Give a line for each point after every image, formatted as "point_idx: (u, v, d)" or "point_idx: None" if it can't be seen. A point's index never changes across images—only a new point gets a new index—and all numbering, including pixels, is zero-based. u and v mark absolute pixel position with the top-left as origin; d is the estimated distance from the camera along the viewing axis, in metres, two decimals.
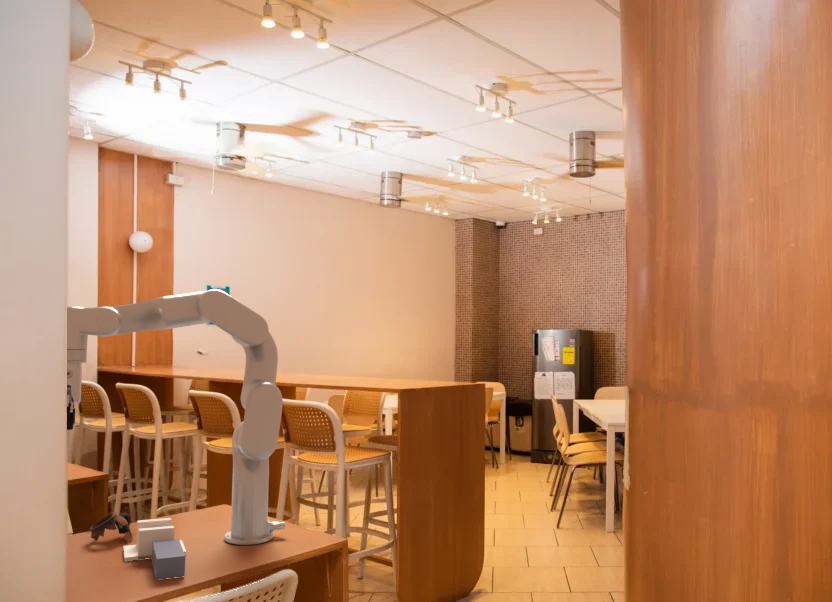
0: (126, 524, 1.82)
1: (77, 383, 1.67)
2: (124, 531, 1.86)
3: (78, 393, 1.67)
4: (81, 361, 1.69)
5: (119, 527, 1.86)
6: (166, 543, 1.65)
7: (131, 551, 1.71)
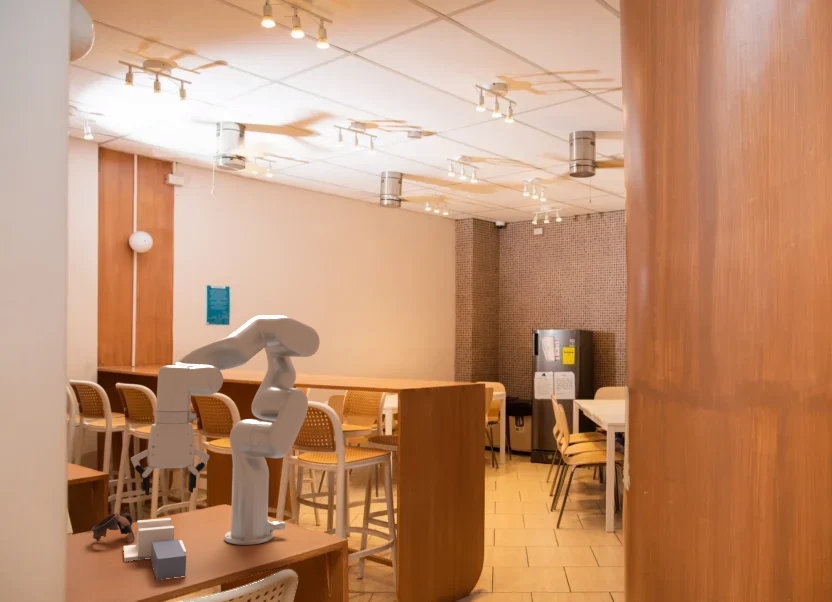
0: (128, 524, 1.82)
1: None
2: (126, 531, 1.86)
3: None
4: None
5: (121, 527, 1.86)
6: (166, 543, 1.65)
7: (131, 551, 1.71)
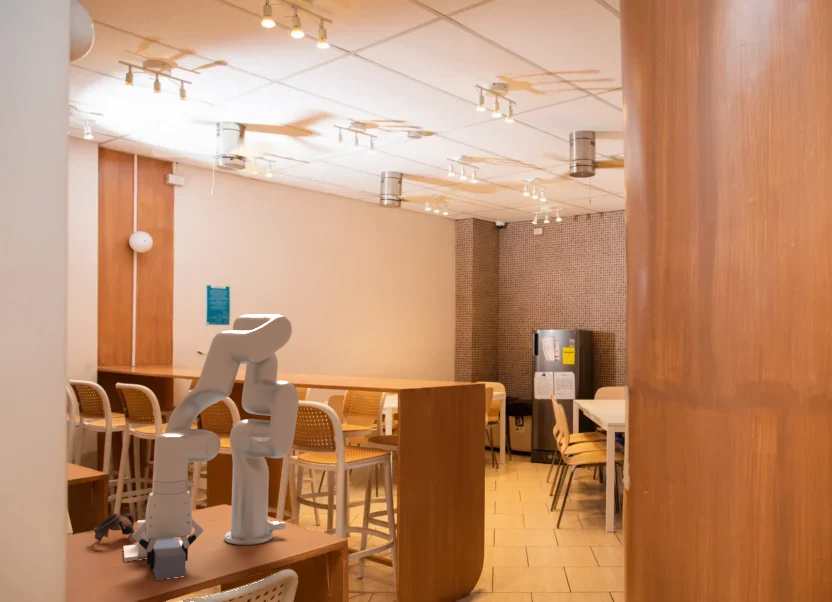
0: (130, 525, 1.82)
1: None
2: (128, 532, 1.85)
3: None
4: None
5: (123, 528, 1.86)
6: (165, 542, 1.65)
7: (131, 551, 1.71)
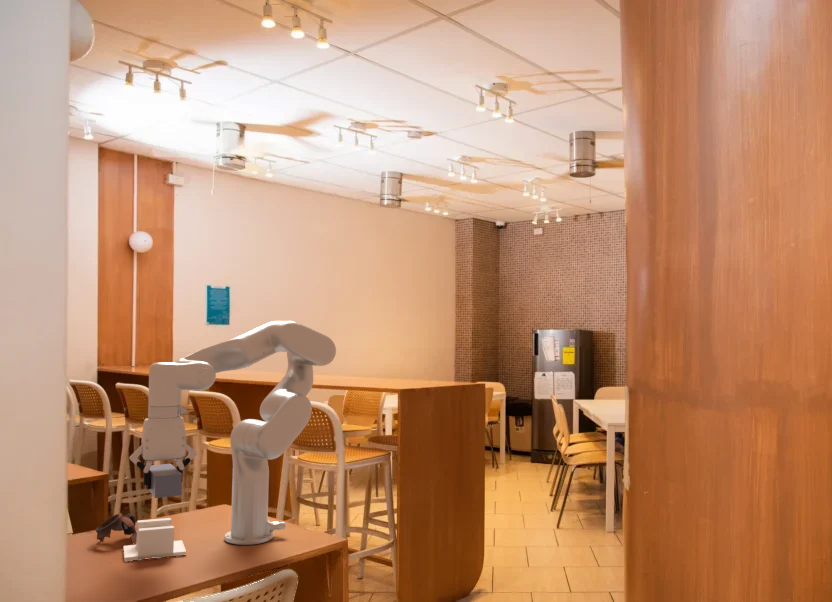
0: (132, 525, 1.81)
1: None
2: (129, 532, 1.85)
3: None
4: None
5: (124, 528, 1.85)
6: (160, 466, 1.73)
7: (131, 551, 1.71)
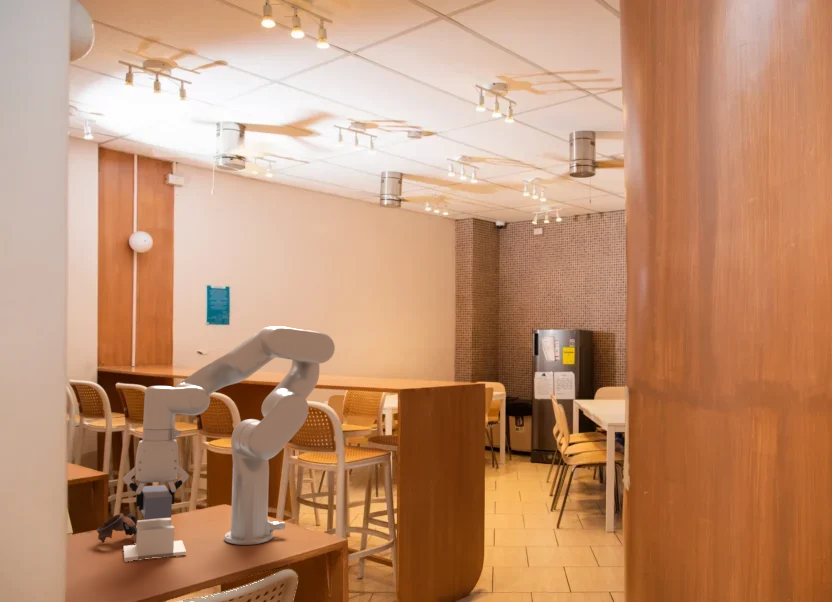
0: (134, 525, 1.81)
1: None
2: (131, 532, 1.85)
3: None
4: None
5: (126, 528, 1.85)
6: (153, 487, 1.77)
7: (131, 551, 1.71)
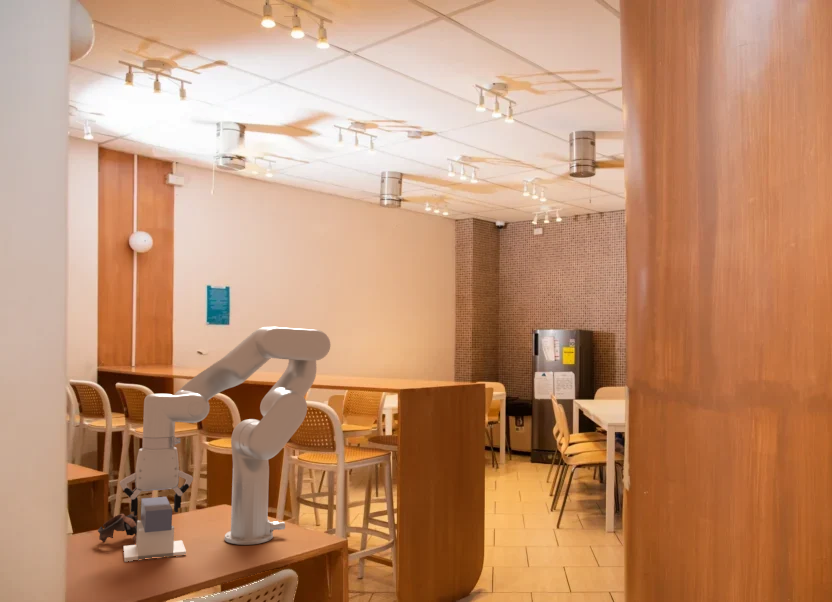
0: (135, 525, 1.81)
1: None
2: (132, 532, 1.85)
3: None
4: None
5: (127, 529, 1.85)
6: (155, 500, 1.78)
7: (131, 551, 1.71)
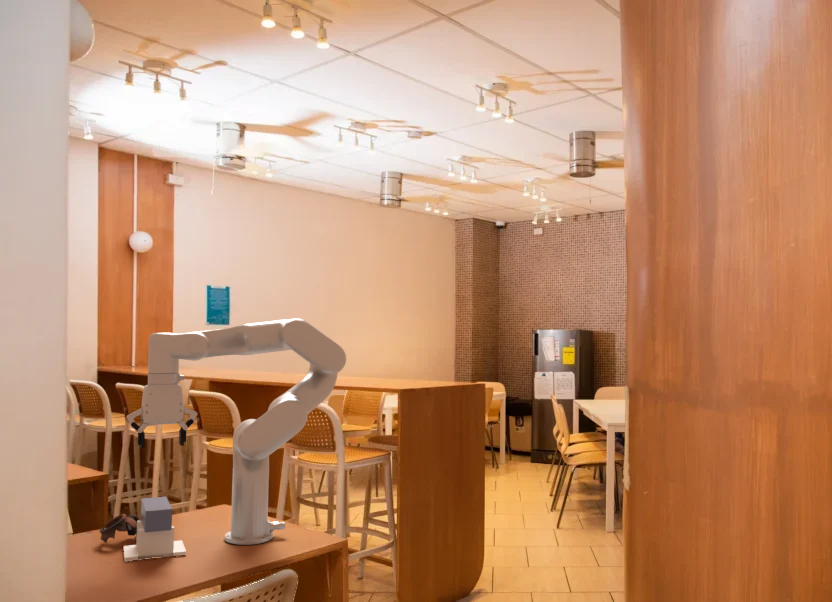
0: (136, 526, 1.81)
1: None
2: (133, 533, 1.85)
3: None
4: None
5: (128, 529, 1.85)
6: (155, 500, 1.78)
7: (131, 551, 1.71)
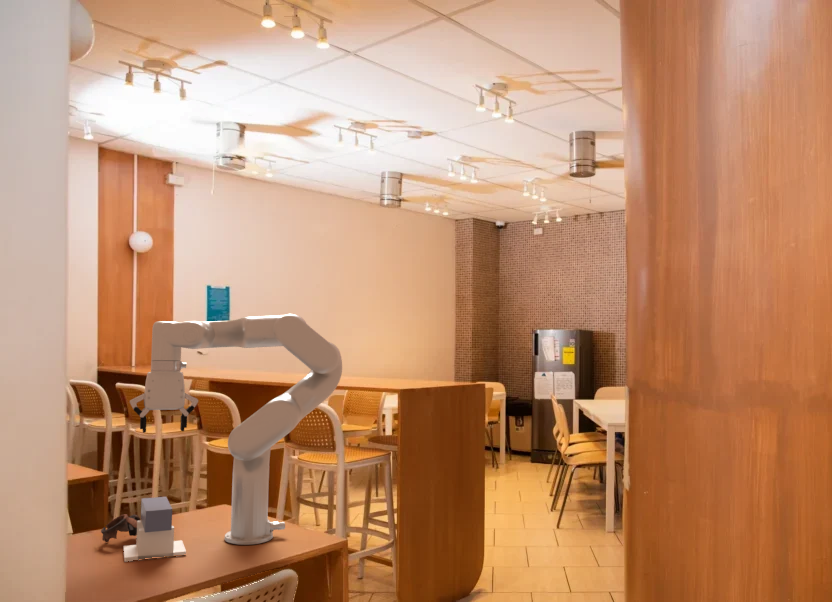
0: None
1: None
2: (135, 533, 1.84)
3: None
4: None
5: (130, 529, 1.84)
6: (155, 500, 1.78)
7: (131, 551, 1.71)
